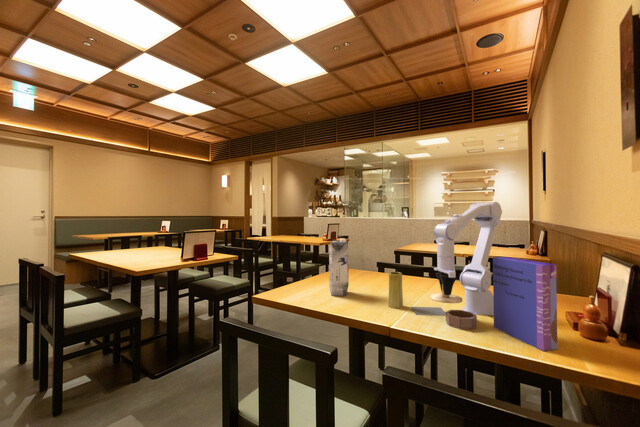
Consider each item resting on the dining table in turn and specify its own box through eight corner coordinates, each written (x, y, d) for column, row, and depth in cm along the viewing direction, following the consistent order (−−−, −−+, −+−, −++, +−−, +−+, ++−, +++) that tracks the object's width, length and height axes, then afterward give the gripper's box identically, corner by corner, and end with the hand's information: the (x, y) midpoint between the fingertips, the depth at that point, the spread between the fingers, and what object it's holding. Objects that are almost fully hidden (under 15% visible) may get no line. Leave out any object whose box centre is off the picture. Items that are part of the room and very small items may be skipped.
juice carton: (328, 296, 139) (328, 239, 139) (331, 290, 149) (331, 237, 150) (347, 296, 137) (347, 239, 138) (349, 291, 148) (348, 238, 148)
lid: (457, 295, 111) (457, 280, 111) (466, 304, 100) (466, 287, 100) (426, 294, 113) (426, 279, 113) (433, 302, 102) (433, 286, 102)
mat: (440, 308, 119) (440, 307, 119) (448, 316, 109) (448, 315, 109) (410, 307, 120) (410, 306, 120) (416, 315, 110) (416, 314, 110)
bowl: (469, 321, 104) (469, 310, 104) (480, 331, 95) (480, 318, 95) (443, 320, 105) (443, 309, 105) (451, 330, 96) (451, 318, 96)
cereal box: (557, 349, 82) (556, 264, 82) (543, 351, 81) (542, 264, 81) (505, 327, 99) (504, 256, 99) (493, 328, 98) (492, 256, 98)
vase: (403, 310, 117) (403, 274, 118) (388, 309, 119) (388, 274, 119) (402, 305, 123) (402, 271, 124) (387, 304, 125) (387, 271, 125)
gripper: (429, 253, 114) (429, 288, 114) (440, 259, 100) (440, 298, 100) (448, 253, 113) (448, 288, 113) (461, 259, 99) (462, 299, 99)
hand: (446, 293), depth 106 cm, fingers closed on lid, 2 cm apart
